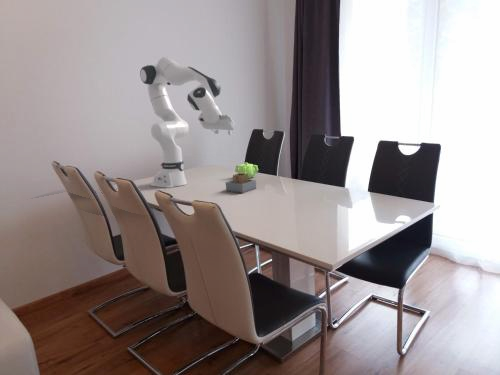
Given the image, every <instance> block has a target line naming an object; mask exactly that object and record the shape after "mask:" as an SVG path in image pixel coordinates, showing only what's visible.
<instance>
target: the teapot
mask: <svg viewBox="0 0 500 375" xmlns="http://www.w3.org/2000/svg"><path fill="white" fill-rule="evenodd" d="M234 172H235V173H236V174H238V173H243V174H248V179H251V180H252V178H253V177H254V176H255V175H256V173H258V172H259V168H258V165H256V164H253V163H248V162H244V163H242V164H240V165H237V164H236V165H235V170H234Z"/></svg>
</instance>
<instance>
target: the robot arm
mask: <svg viewBox="0 0 500 375" xmlns="http://www.w3.org/2000/svg"><path fill="white" fill-rule="evenodd" d="M139 71H140V72H139V76H140V80H141V81H142V83H143V84H145V85H147V90H148V91H147V92H148V96H149V100H150V103H151V106H152V109H153V112H154V114H155V115H156V116H157V117H159V118H161V119H162V121H159V122H155V123H154V124H152V126H151V129H150V133H151V136H152V137H153V139H154V140H156V141H157V142H158V143H159V145H160V147H161V150H162V154H163V162H162V163H160V167H161V168H160V170H159V171H158V172H156V173H155V174H154V176H153V182H151V183H150V185H149V186H150V187H157V188H167V189H168V188H173V187H174V188H175V187H181V186H184V185H185V186H186V184H188V181H187V178H186V175H185V167H184V166H185V165H184V160H183V150H182V148H181V147H180V146H179V145H178V144H177V143H176V142H175V139H179V138H182V137H184V136H187V135H188V133H189V132H190V126H189V124H188V122H187V121H186V120H184V119H183V118H182V117H180V116H179V114H178V113H177V112H176V111H175V109H174V107H173V105H172V102H171V99H170V95H169V93H168V91H167V85H168V86H170V85H172V86H178V87H179V86H182V85H184V84H186V83H189V82H192V81H195V82H196V81H197V82H198V83H200V84H198V86H196V87H195V88H194V89H193V90H191V91H190V92H188V94H187V96H186V99H187V102H188V103H189V105H190V107H191V108H192V109H193V110H194V111H195V110H196V111H201V113H200V114H199V116H198V118H197V120H198V121H199V123H200V125H201V126H202V127H203V129H205V130H211V131H212V132H213V133H214V134H215V135H218V134H219V131H218V130H220V131H221V130H222V131H223V130H224V131H227V134H228V135H230V136H232V134H233V130H234V129H235V128H236V123H235V121H234V120H233V118H232V117H231V116H229V115H227V114H223V113H222V112H221V110H220V108H219V107H218V105H217V104H216V102H215V99H214V98H216V97H218V96H219V95H220V94H221V91H222V90H221V88H222V87H221V85H220V83H219V82H218V81H217V80H216V79H214V78H213V77H209V76H208V75H206V74H205V73H202V72H201V71H199V70H197V69H196V68H194V67H191V66H182V65H180V64H179V63H178V62H176V61H175V60H174V59H172V58H170V57H168V56H165V57H161V58H160V59H158V61H157V63H156V64H151V65H149V64H147V65H144V66H142V67H141V68H140V70H139Z"/></svg>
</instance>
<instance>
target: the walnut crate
mask: <svg viewBox="0 0 500 375" xmlns="http://www.w3.org/2000/svg"><path fill="white" fill-rule="evenodd" d="M232 180H233V183H238V184H244V183H247V182H248V174H243V173H235V174H232Z"/></svg>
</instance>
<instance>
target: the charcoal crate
mask: <svg viewBox="0 0 500 375" xmlns="http://www.w3.org/2000/svg"><path fill="white" fill-rule="evenodd" d="M254 190H257V180H256V179H252V178H251V179H248V182H247V183H244V184H238V183H233V179H231V180H229V181H226V182H225V191H226V192H231V193H237V194H245V193H249V192H251V191H254Z"/></svg>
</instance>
